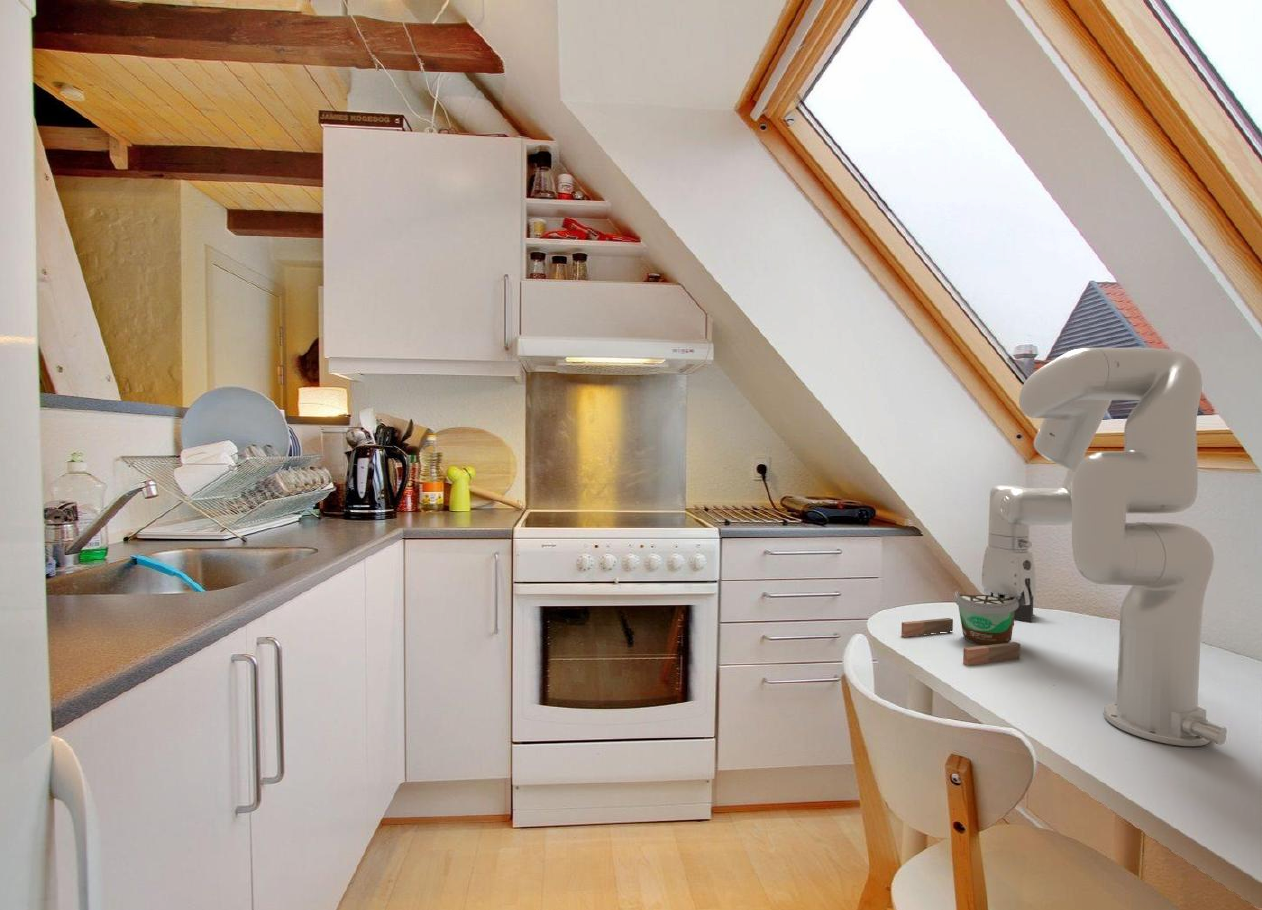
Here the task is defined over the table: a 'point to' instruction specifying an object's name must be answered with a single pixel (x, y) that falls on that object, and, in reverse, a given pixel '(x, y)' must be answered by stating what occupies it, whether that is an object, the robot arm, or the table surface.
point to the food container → (986, 618)
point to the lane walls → (969, 654)
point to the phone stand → (1024, 612)
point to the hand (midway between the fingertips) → (1005, 625)
